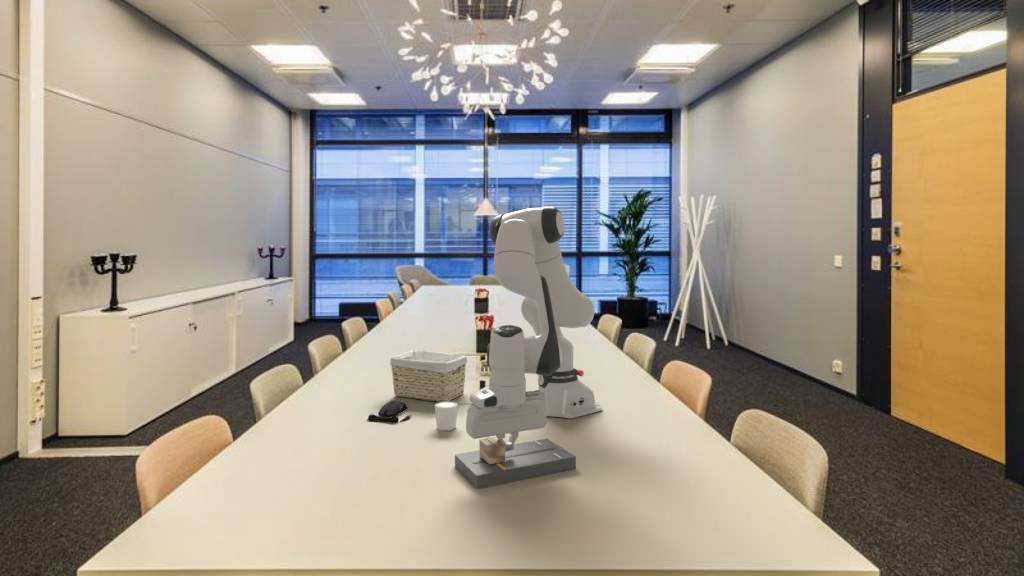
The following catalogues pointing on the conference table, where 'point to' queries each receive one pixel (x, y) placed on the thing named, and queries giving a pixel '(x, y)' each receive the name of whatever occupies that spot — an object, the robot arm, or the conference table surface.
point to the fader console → (516, 463)
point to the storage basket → (428, 375)
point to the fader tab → (492, 450)
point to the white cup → (446, 415)
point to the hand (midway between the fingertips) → (507, 450)
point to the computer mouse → (390, 412)
